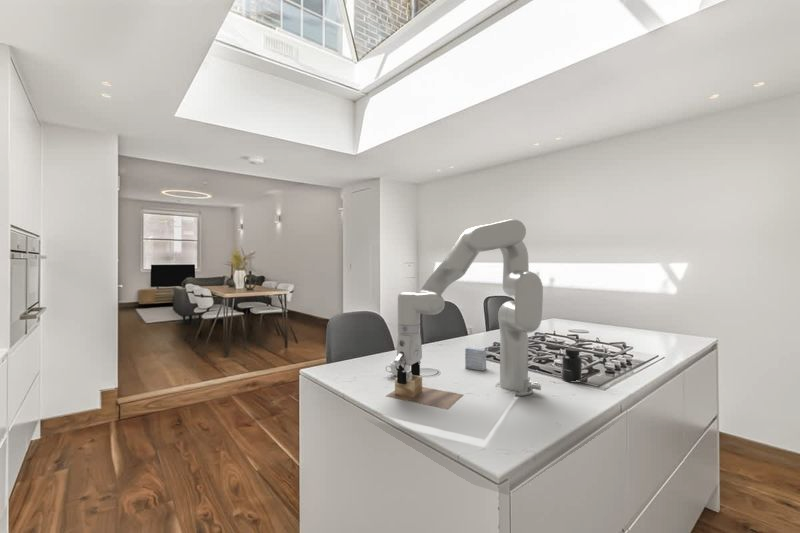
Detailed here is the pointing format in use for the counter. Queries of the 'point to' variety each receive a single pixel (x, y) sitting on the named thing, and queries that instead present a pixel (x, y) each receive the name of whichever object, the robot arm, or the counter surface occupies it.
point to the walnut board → (431, 398)
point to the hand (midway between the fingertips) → (408, 379)
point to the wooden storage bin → (409, 387)
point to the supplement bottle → (571, 365)
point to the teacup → (393, 368)
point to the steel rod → (409, 375)
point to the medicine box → (475, 358)
